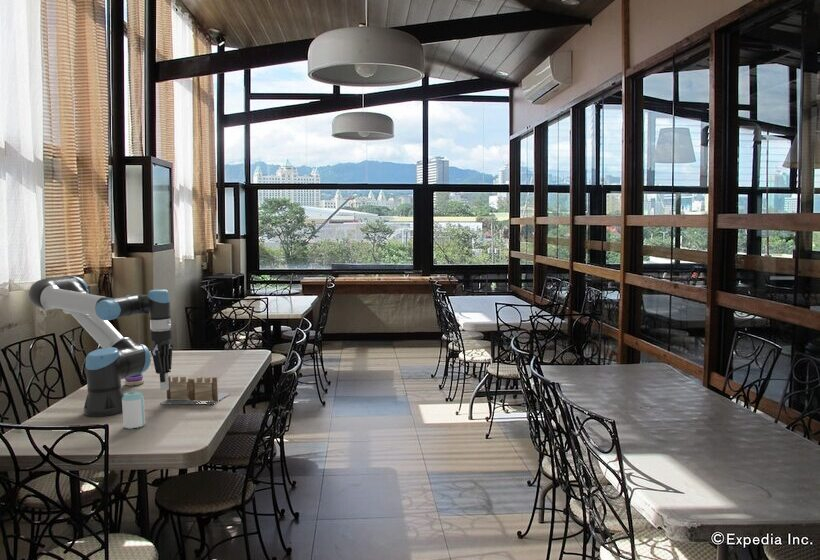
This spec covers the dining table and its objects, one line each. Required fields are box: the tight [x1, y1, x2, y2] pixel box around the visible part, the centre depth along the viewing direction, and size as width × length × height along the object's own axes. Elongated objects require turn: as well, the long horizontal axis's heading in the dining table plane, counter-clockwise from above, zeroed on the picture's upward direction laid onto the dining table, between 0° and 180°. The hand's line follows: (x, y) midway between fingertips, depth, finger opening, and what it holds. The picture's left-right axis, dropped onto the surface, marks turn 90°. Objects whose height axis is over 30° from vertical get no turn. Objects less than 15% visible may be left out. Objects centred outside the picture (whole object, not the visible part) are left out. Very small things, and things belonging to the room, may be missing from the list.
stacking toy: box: [124, 342, 145, 387], centre depth 296 cm, size 8×8×19 cm
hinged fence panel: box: [166, 375, 189, 400], centre depth 267 cm, size 2×9×9 cm, turn 81°
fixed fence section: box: [187, 376, 219, 401], centre depth 265 cm, size 2×12×10 cm, turn 81°
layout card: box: [160, 392, 231, 406], centre depth 269 cm, size 16×22×1 cm
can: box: [122, 390, 146, 430], centre depth 234 cm, size 7×7×12 cm
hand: (164, 389), depth 261 cm, fingers closed
